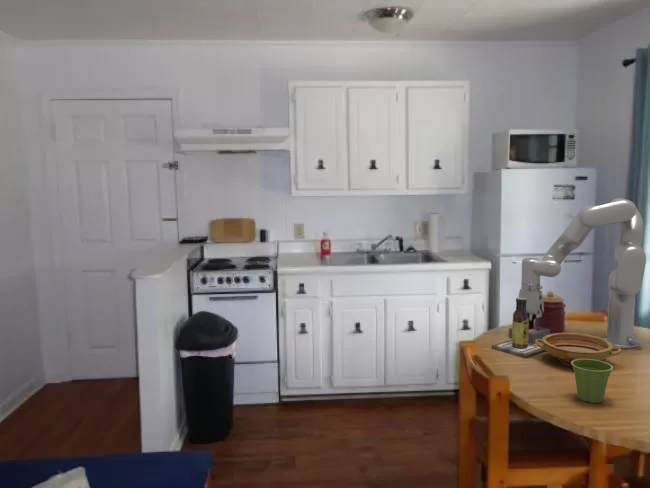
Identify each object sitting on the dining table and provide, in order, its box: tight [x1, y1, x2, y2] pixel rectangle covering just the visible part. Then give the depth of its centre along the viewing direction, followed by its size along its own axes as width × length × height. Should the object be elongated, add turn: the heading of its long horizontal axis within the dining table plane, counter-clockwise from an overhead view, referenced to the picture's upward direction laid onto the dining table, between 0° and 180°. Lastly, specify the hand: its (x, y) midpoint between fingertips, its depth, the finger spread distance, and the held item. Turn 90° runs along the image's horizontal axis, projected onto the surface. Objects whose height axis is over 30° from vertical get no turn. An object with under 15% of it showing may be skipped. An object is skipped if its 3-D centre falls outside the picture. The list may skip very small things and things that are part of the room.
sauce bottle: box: [511, 297, 529, 348], centre depth 221 cm, size 6×6×20 cm
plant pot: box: [571, 359, 614, 404], centre depth 173 cm, size 12×12×11 cm
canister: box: [534, 291, 566, 334], centre depth 248 cm, size 13×13×18 cm
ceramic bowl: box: [535, 332, 622, 367], centre depth 206 cm, size 30×24×8 cm
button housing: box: [508, 326, 551, 345], centre depth 237 cm, size 12×12×4 cm
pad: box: [491, 339, 547, 359], centre depth 222 cm, size 16×14×1 cm
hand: (529, 328), depth 237 cm, fingers closed
